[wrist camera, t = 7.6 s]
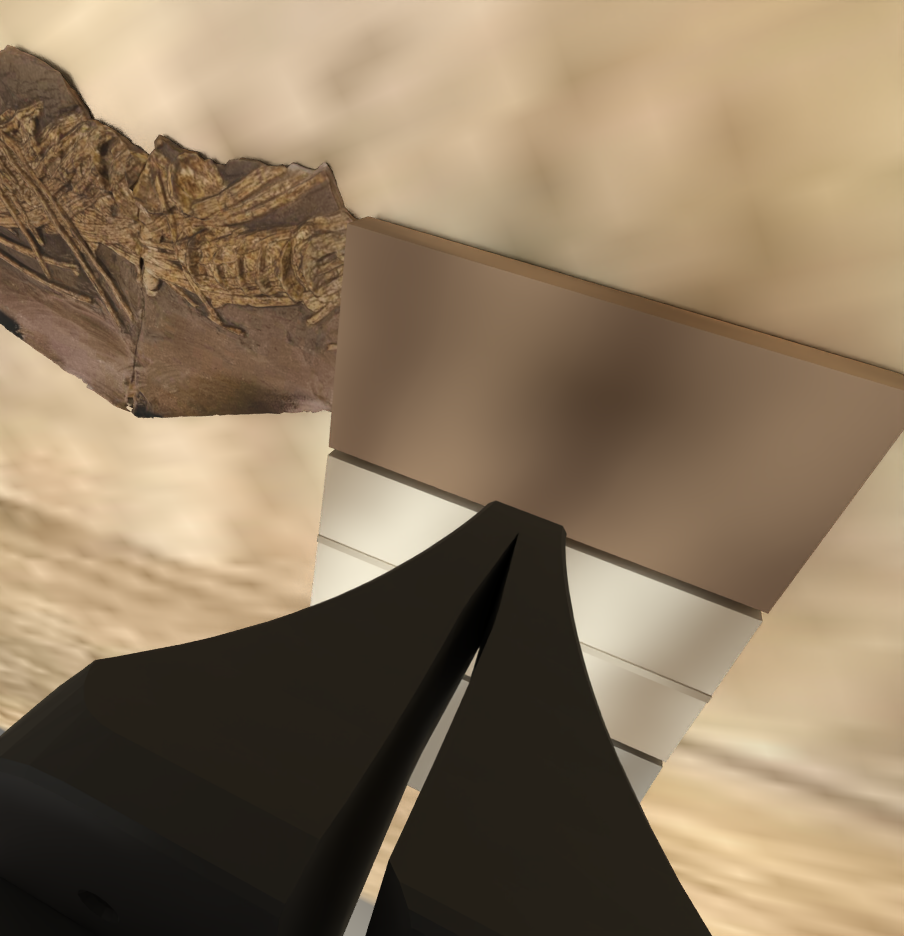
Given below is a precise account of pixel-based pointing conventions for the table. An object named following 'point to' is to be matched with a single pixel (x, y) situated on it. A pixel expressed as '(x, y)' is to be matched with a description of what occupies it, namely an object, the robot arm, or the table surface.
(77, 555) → the table surface
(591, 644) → the ash board
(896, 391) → the walnut plank
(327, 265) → the fossil skeleton slab
